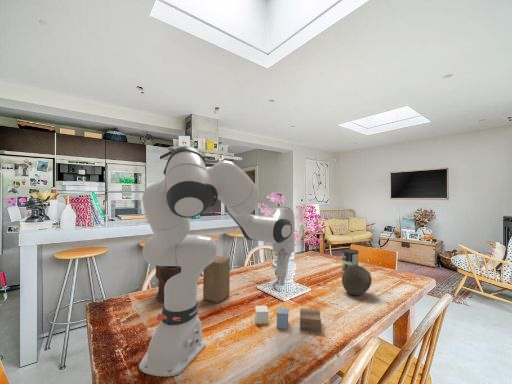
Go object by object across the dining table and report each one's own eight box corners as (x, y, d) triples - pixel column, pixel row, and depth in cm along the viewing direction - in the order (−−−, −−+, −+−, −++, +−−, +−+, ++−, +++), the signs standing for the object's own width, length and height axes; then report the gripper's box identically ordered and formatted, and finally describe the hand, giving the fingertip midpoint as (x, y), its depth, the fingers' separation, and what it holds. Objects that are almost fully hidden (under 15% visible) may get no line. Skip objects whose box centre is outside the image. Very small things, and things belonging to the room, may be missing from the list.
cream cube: (268, 323, 100) (268, 311, 100) (256, 323, 99) (256, 311, 99) (266, 317, 105) (266, 305, 105) (255, 317, 104) (255, 305, 104)
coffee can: (344, 273, 159) (344, 252, 159) (340, 268, 169) (341, 248, 169) (360, 274, 158) (360, 253, 157) (356, 269, 168) (356, 249, 168)
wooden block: (202, 299, 120) (202, 259, 120) (214, 291, 129) (214, 254, 129) (218, 304, 116) (218, 262, 116) (230, 295, 125) (230, 257, 124)
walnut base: (320, 333, 94) (320, 320, 93) (299, 330, 95) (300, 318, 95) (319, 321, 101) (319, 310, 101) (300, 319, 103) (300, 308, 103)
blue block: (287, 329, 96) (287, 314, 96) (276, 327, 97) (276, 312, 96) (288, 323, 100) (288, 308, 100) (277, 321, 101) (277, 307, 101)
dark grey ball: (352, 301, 119) (352, 271, 119) (336, 289, 133) (337, 262, 133) (376, 299, 122) (377, 269, 122) (359, 287, 136) (359, 261, 136)
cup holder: (199, 290, 131) (199, 244, 131) (175, 312, 108) (175, 256, 108) (169, 286, 136) (169, 242, 135) (139, 307, 112) (139, 253, 112)
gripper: (289, 253, 87) (289, 291, 87) (292, 241, 107) (292, 272, 107) (272, 252, 88) (272, 290, 88) (278, 240, 108) (277, 271, 108)
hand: (283, 280), depth 98 cm, fingers open, 8 cm apart
